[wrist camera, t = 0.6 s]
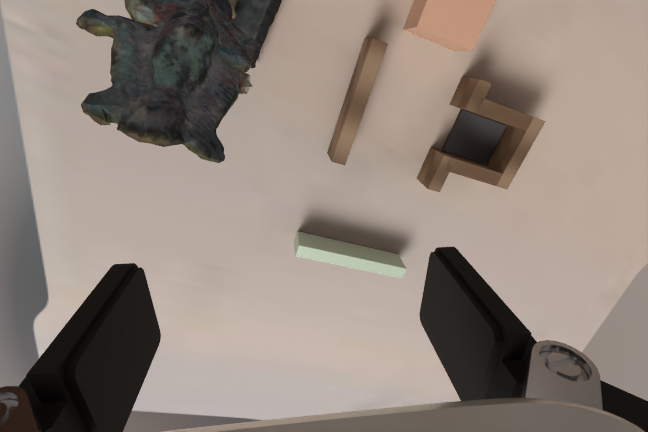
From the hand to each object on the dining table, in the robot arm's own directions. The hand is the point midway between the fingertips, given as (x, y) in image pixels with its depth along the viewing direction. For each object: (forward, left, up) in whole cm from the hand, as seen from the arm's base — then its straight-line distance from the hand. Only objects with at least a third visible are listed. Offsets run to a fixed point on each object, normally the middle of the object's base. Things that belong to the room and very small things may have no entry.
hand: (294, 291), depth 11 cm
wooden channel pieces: (-5, +16, -28) cm, 33 cm away
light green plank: (+13, +12, -28) cm, 33 cm away
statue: (-8, -8, -29) cm, 31 cm away
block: (-16, +12, -29) cm, 35 cm away
